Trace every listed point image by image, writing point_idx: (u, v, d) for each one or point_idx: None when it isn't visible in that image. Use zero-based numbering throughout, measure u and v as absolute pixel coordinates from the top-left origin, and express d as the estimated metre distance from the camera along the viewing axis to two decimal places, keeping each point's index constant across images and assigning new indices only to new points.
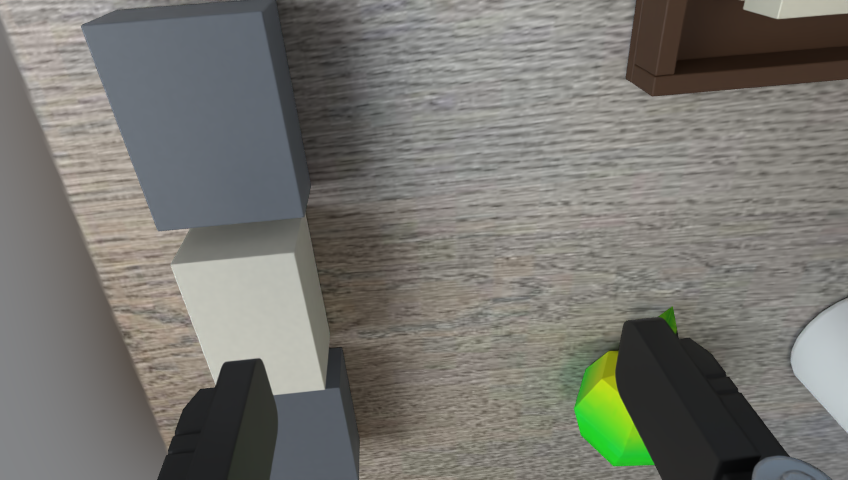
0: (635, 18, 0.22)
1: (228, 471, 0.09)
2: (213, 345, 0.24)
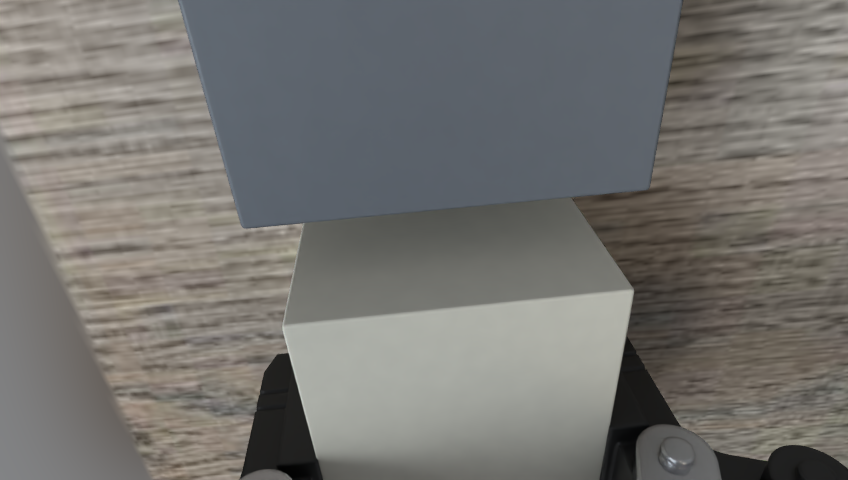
0: None
1: None
2: None
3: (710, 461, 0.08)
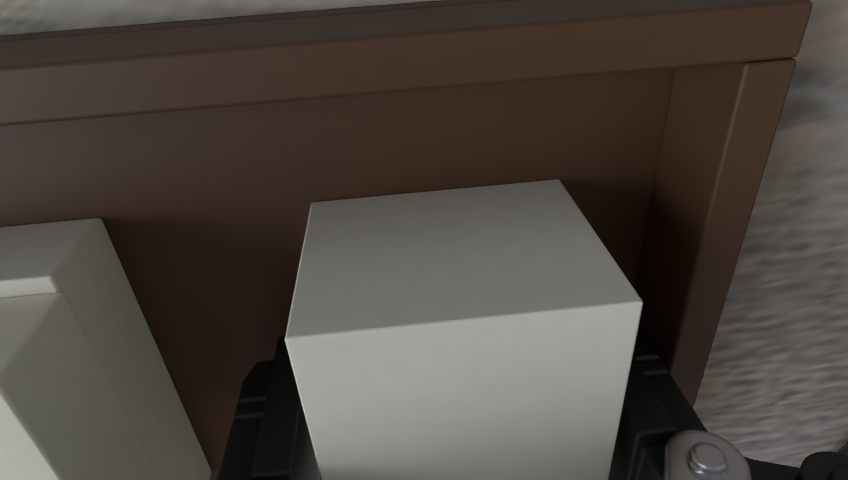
0: None
1: (297, 433, 0.10)
2: None
3: (742, 468, 0.08)
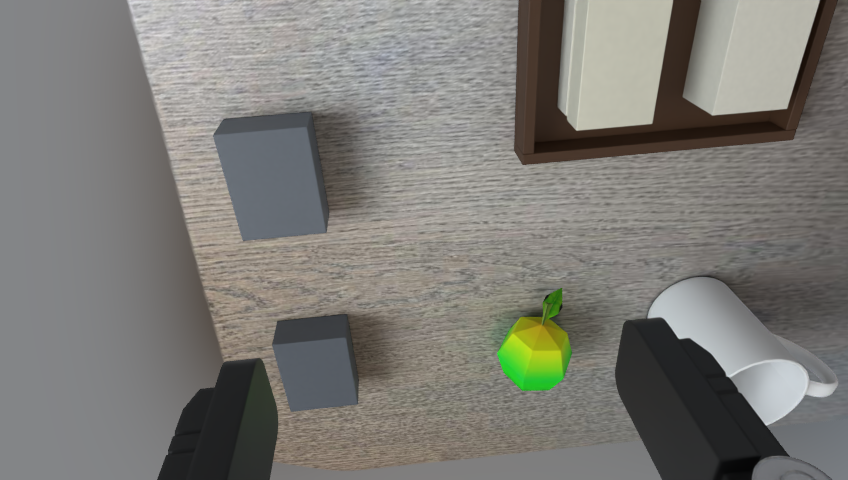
0: (515, 119, 0.39)
1: (228, 471, 0.09)
2: (734, 58, 0.33)
3: None
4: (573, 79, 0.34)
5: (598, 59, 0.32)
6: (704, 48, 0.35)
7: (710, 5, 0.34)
